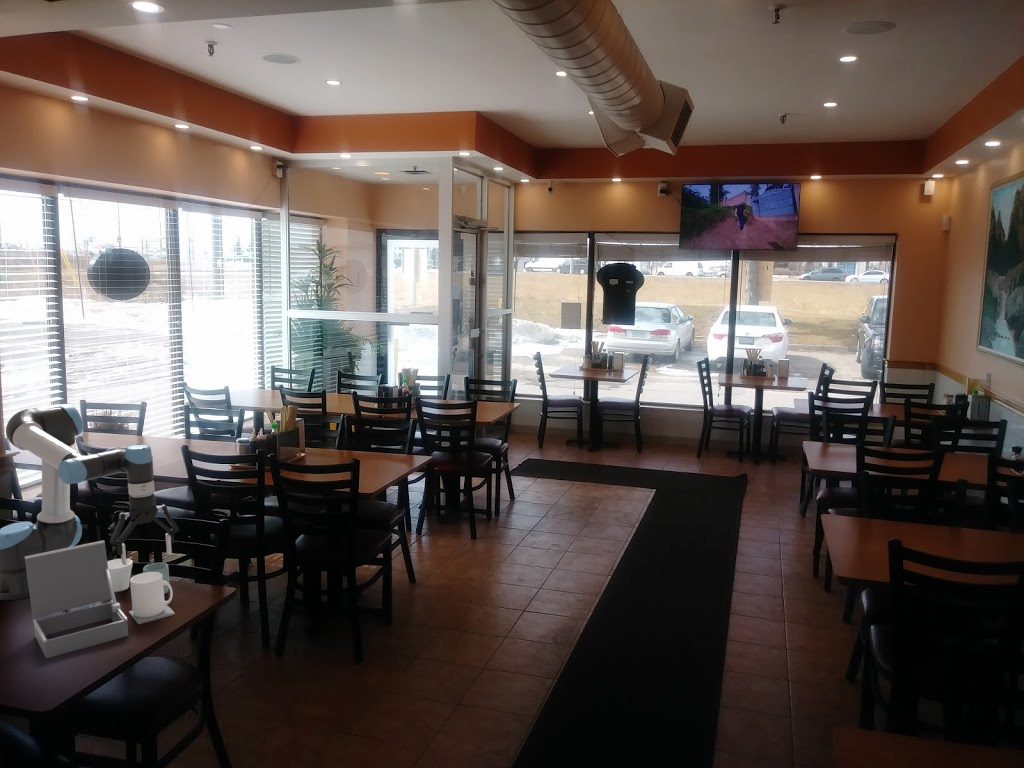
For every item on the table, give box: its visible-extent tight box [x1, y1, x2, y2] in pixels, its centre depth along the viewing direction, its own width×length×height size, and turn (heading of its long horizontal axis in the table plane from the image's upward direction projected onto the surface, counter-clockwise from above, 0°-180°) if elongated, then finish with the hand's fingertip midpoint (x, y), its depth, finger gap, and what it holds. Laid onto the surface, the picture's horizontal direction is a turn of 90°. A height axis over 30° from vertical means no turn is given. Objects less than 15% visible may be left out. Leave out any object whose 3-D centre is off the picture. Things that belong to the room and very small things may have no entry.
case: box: [32, 569, 129, 659], centre depth 245 cm, size 20×23×16 cm
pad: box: [128, 604, 176, 625], centre depth 261 cm, size 11×11×1 cm
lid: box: [25, 540, 112, 619], centre depth 252 cm, size 19×22×1 cm
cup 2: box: [142, 562, 170, 595], centre depth 276 cm, size 8×8×10 cm
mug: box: [129, 572, 174, 618], centre depth 261 cm, size 10×12×12 cm
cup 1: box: [107, 558, 134, 593], centre depth 281 cm, size 10×10×9 cm
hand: (147, 558), depth 259 cm, fingers open, 13 cm apart
